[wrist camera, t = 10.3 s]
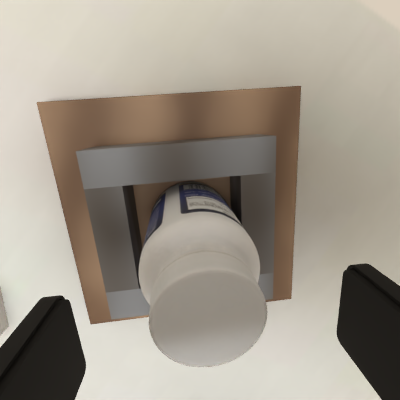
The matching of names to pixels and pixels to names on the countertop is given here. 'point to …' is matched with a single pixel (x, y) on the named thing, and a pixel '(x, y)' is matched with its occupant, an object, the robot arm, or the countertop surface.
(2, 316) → the grey upright pouch
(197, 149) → the mount
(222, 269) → the pill bottle
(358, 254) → the countertop surface
